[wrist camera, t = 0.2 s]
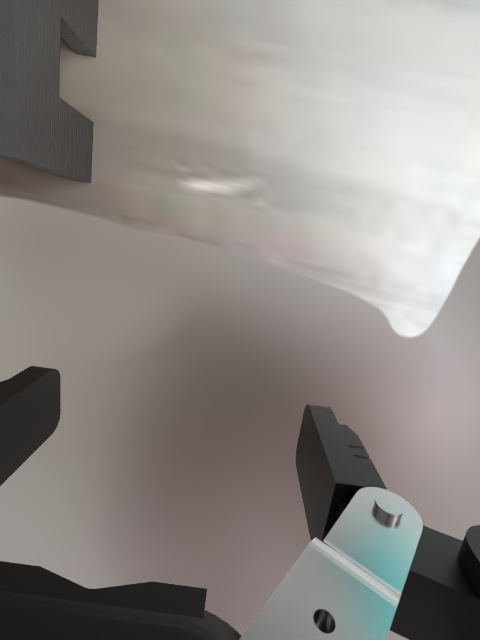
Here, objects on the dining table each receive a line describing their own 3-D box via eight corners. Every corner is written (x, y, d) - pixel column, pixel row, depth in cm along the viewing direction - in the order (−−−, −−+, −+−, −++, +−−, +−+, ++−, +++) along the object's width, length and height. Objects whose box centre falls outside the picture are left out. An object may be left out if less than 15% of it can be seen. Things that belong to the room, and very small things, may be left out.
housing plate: (78, -19, 32) (-19, -162, 21) (98, -15, 32) (13, -157, 21) (72, 179, 37) (-10, 153, 25) (90, 182, 37) (16, 158, 25)
